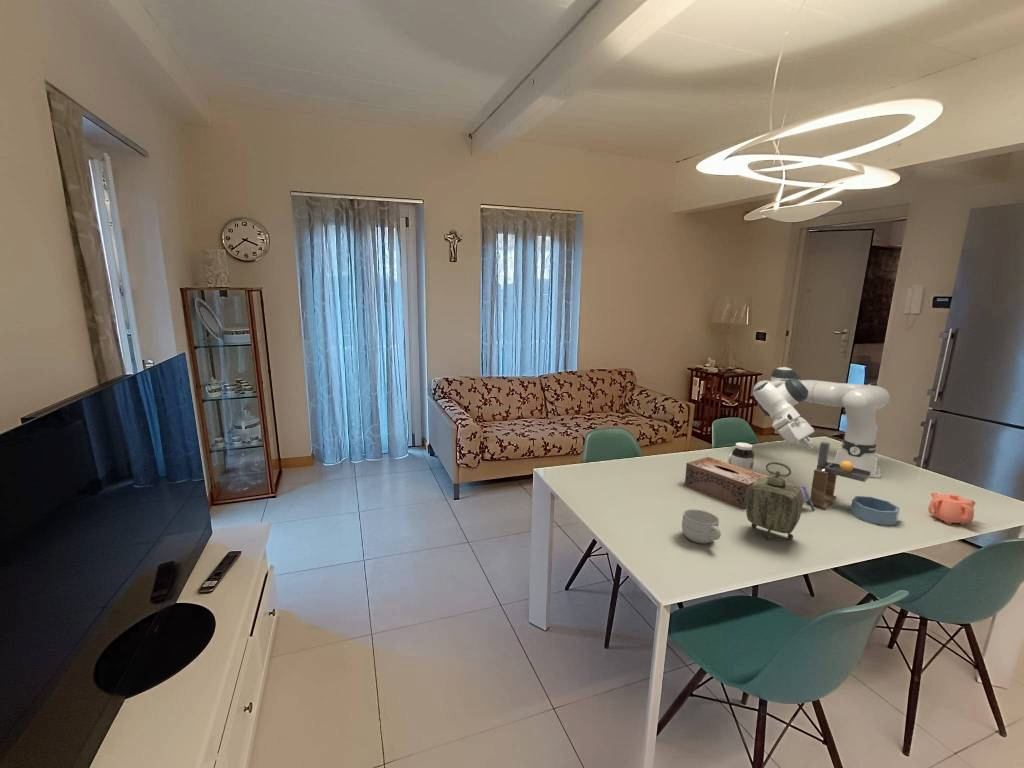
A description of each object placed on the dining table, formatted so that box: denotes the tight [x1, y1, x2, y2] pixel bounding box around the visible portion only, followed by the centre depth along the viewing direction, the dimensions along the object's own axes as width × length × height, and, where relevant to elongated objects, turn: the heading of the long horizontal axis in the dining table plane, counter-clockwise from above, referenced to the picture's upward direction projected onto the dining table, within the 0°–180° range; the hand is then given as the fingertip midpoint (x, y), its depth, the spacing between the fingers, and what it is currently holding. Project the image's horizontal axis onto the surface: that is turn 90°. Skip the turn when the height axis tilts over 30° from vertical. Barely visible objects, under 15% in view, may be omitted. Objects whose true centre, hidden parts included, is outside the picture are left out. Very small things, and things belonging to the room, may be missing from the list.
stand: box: [805, 461, 838, 511], centre depth 174 cm, size 15×6×14 cm, turn 132°
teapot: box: [927, 492, 976, 526], centre depth 161 cm, size 12×12×10 cm
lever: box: [816, 441, 871, 483], centre depth 169 cm, size 10×15×11 cm, turn 42°
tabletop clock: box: [745, 461, 803, 540], centre depth 147 cm, size 14×9×25 cm, turn 48°
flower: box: [796, 485, 815, 511], centre depth 170 cm, size 9×9×10 cm
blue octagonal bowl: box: [850, 495, 901, 527], centre depth 163 cm, size 13×13×5 cm
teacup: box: [681, 508, 722, 544], centre depth 145 cm, size 14×11×8 cm
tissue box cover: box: [684, 456, 770, 511], centre depth 182 cm, size 26×14×10 cm, turn 33°
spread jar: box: [727, 442, 755, 471], centre depth 209 cm, size 12×11×12 cm
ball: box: [840, 461, 853, 472], centre depth 168 cm, size 4×4×4 cm
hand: (812, 448), depth 176 cm, fingers closed
